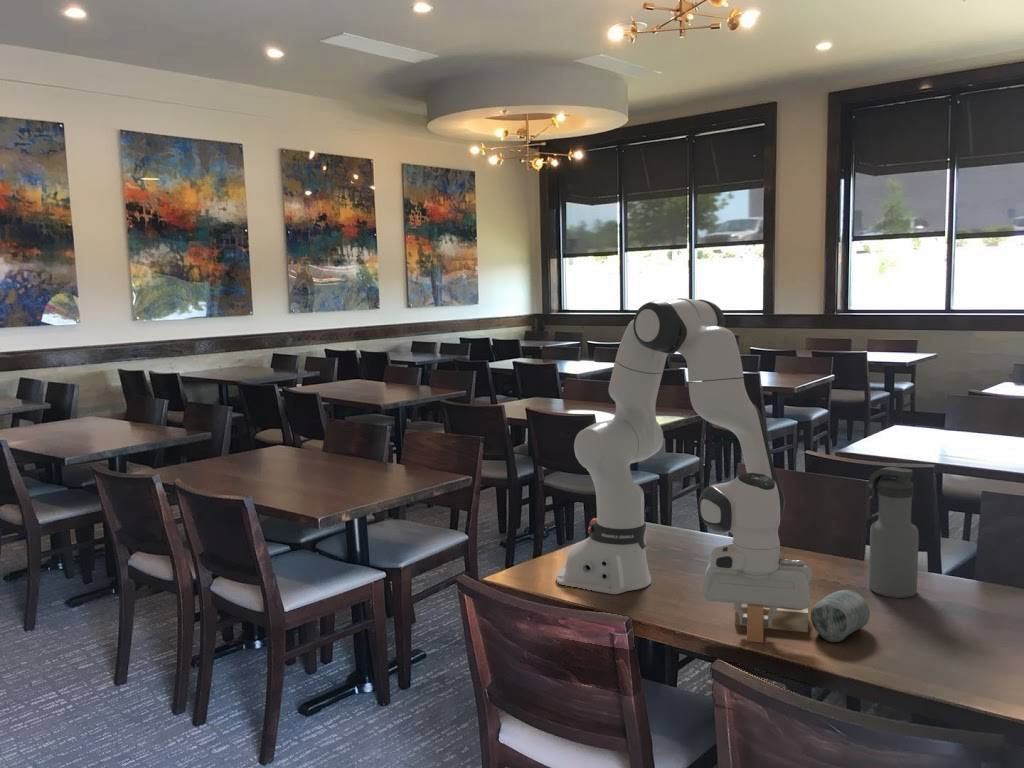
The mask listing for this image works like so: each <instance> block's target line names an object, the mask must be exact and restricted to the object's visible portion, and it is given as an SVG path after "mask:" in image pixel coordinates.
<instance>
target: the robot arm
mask: <svg viewBox="0 0 1024 768" xmlns="http://www.w3.org/2000/svg"><path fill="white" fill-rule="evenodd" d="M618 346H619V347H618V349H617V352H616V356H615V361H614V363H613V368H612V372H611V375H610V380H609V384H608V394H609V396H610V398H611V400H613V401H614V402H615V415H614V417H613V418H612V419H610V420H604V421H598V422H595V423H593V424H590V425H589V426H586V427H585V428H584V429H582V430H579V432H578V433H577V434H576V436H575V439H574V443H573V450H574V454H575V455H574V456H575V458H576V460H577V461H578V463H579V464H580V465H581V466H582V467H583V468H584V469H586V470H587V471H588V473H589V475H590V477H591V479H592V482H593V483H592V484H593V485H594V489H595V500H596V502H595V503H596V517H593V518H592V519H591V520H590V521H589V525H588V531H587V532H588V537H587V538H585V539H584V540H582V541H581V542H580V543H578V544H576V546H574V547H573V548H572V549H571V550H570V551H569V553H568V555H567V558H566V562H565V566H563V567H562V568H560V569H559V570H558V572H557V573H556V577H555V578H556V579H555V582H556V581H557V582H558V583H559V584H562V585H567V586H572V587H571V588H573V587H578V588H577V589H579V588H583V589H582V590H585V589H587V591H591V590H592V592H598V593H603V594H611V595H618V594H619V595H620V594H622V593H625V592H629V591H635V590H636V591H637V590H641V589H644V588H646V587H648V586H649V585H651V583H652V577H651V575H650V571H649V565H648V560H647V555H646V553H647V552H646V546H647V535H648V534H647V524H646V522H645V496H644V493H645V492H644V490H643V488H642V487H641V486H640V485H639V484H637V483H636V482H635V481H634V479H633V476H632V472H631V464H634V463H640V462H643V461H646V460H648V459H649V458H650V457H652V456H654V455H655V454H657V453H658V452H660V450H661V448H662V446H663V443H664V432H663V429H662V426H661V425H660V424H659V423H658V421H657V416H656V414H657V413H656V404H657V398H658V393H659V389H660V385H661V381H662V377H663V373H664V369H665V365H666V362H667V357H668V355H674V354H676V353H679V354H680V355H681V356H683V358H684V360H685V362H686V366H687V378H688V380H687V381H688V392H689V399H690V404H691V406H692V409H693V410H694V412H696V414H697V415H698V416H699V417H701V419H703V420H705V422H708V423H710V424H714V425H716V426H719V427H722V428H724V429H727V430H728V431H730V432H732V433H733V434H734V435H735V437H736V438H737V440H738V441H739V444H740V448H741V453H742V457H743V462H744V465H745V471H746V472H744V473H741V474H739V475H737V476H736V477H735V478H734V479H732V480H729V481H727V482H721V483H715V484H712V485H709V486H707V487H705V488H704V489H703V490H702V492H701V494H700V496H699V499H698V513H699V516H700V518H701V520H702V522H703V523H704V525H706V526H707V527H708V528H709V529H710V530H712V531H716V532H724V533H727V532H728V533H731V534H732V537H733V539H732V543H731V544H726V545H721V546H718V547H714V548H712V550H711V552H710V555H709V563H708V565H707V566H706V569H705V574H704V579H703V584H702V585H703V586H702V587H703V588H702V596H703V598H704V600H706V601H707V602H719V603H729V604H733V609H734V610H736V612H737V614H738V615H739V616H740V625H747V614H744V613H743V612H742V610H741V607H742V604H750V605H761V606H770V613H769V614H768V616H764V615H763V627H771V619H772V618H773V617H774V616H775V614H776V613H777V607H784V608H795V609H807V608H809V607H810V606H811V596H810V587H809V584H810V583H811V582H812V579H813V568H812V566H811V565H810V564H808V563H806V562H805V561H804V560H802V559H801V560H800V559H798V560H795V559H787V558H780V554H781V551H780V550H781V546H780V545H781V543H780V538H779V533H778V532H779V527H780V524H781V517H782V515H783V513H784V511H785V507H786V500H785V499H786V498H785V495H784V492H783V488H782V487H781V485H780V482H779V480H778V477H777V473H776V469H775V465H774V461H773V456H772V452H771V448H770V443H769V439H768V435H767V432H766V431H767V430H766V428H765V423H764V419H763V417H762V414H761V412H760V409H759V408H758V407H757V405H755V404H754V403H753V402H752V401H751V400H750V397H749V395H748V392H747V389H746V386H745V379H744V370H743V365H742V364H743V363H742V359H741V353H740V350H739V349H740V348H739V346H738V342H737V339H736V336H735V334H734V333H733V332H732V331H731V330H730V329H728V328H726V318H725V315H724V313H723V310H722V309H721V308H720V307H719V306H718V305H717V304H715V303H714V302H711V301H709V300H706V299H694V298H693V299H692V298H681V297H680V298H675V299H673V298H672V299H664V300H663V299H656V300H652V301H649V302H646V303H644V304H643V305H641V306H640V307H639V308H638V309H637V311H636V313H635V315H634V317H633V319H632V320H631V321H630V322H629V323H628V325H627V327H626V329H625V331H624V333H623V335H622V337H621V341H620V344H619V345H618ZM557 582H556V583H557ZM558 583H557V584H558ZM559 584H558V585H559ZM567 586H566V587H567Z"/></svg>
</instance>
